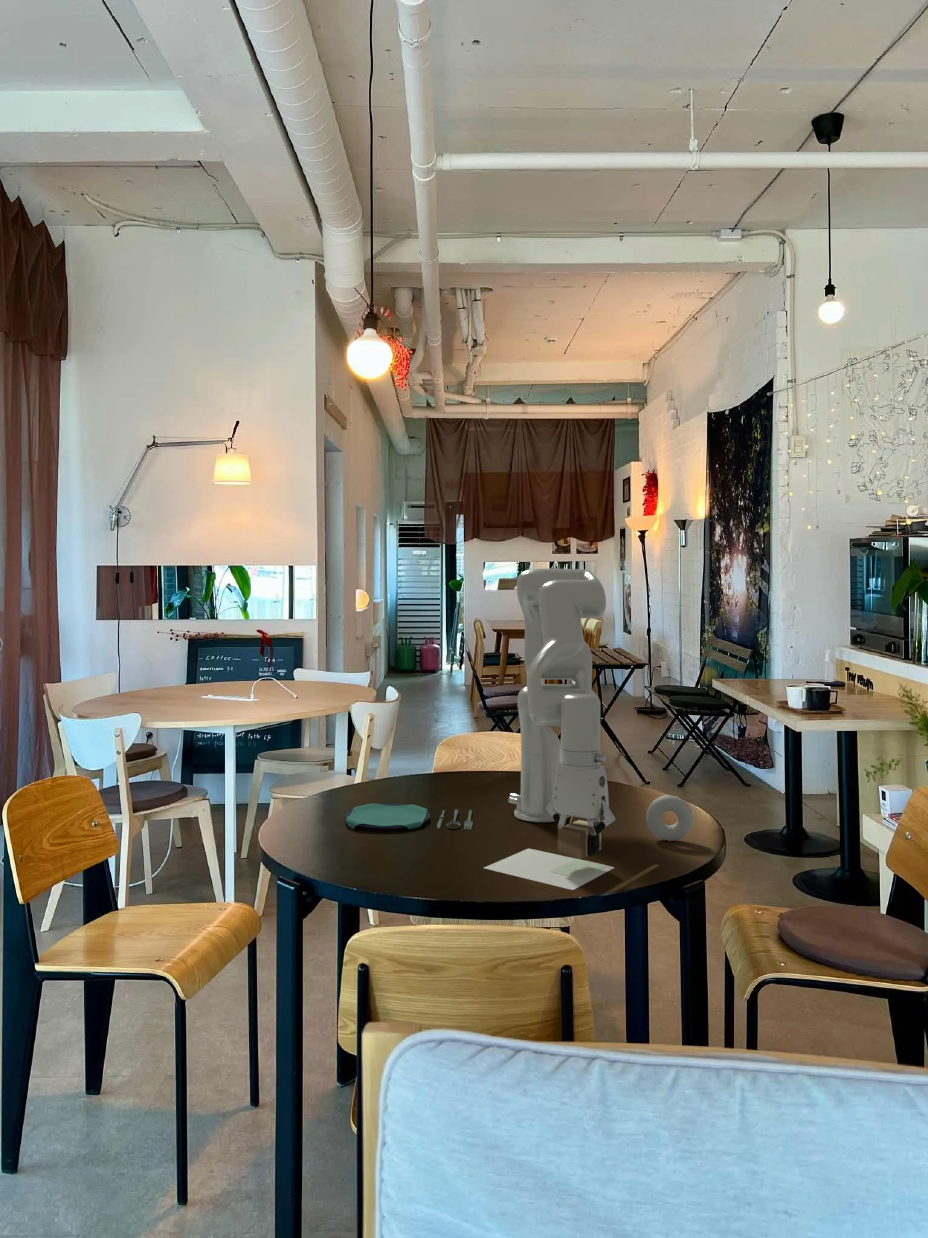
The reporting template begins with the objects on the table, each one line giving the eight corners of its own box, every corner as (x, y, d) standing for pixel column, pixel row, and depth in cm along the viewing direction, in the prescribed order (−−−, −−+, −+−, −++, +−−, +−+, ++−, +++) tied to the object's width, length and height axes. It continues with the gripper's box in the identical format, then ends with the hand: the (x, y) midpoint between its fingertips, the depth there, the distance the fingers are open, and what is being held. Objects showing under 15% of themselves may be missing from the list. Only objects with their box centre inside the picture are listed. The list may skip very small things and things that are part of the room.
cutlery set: (353, 810, 217) (353, 800, 217) (474, 814, 216) (474, 805, 216) (337, 833, 197) (337, 823, 197) (471, 838, 196) (471, 828, 196)
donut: (645, 842, 191) (646, 796, 190) (645, 837, 194) (645, 792, 194) (693, 844, 189) (694, 798, 188) (692, 840, 192) (692, 794, 192)
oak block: (578, 845, 175) (578, 820, 175) (601, 849, 172) (601, 824, 172) (557, 854, 169) (557, 828, 168) (580, 859, 166) (580, 833, 165)
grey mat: (483, 871, 171) (483, 867, 171) (528, 851, 184) (528, 848, 184) (572, 893, 159) (572, 889, 159) (614, 870, 172) (614, 867, 172)
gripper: (629, 760, 168) (628, 855, 168) (552, 750, 178) (552, 840, 178) (610, 766, 162) (609, 865, 162) (532, 756, 172) (532, 848, 172)
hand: (579, 850), depth 170 cm, fingers closed on oak block, 5 cm apart
